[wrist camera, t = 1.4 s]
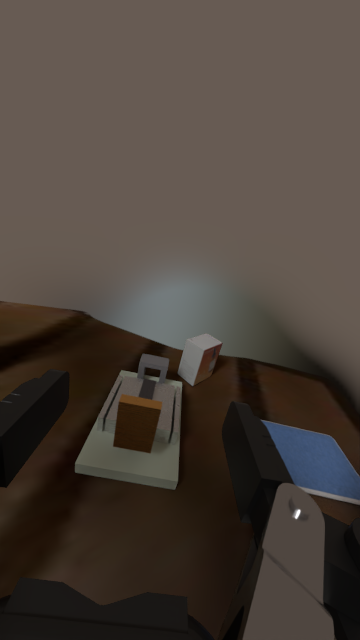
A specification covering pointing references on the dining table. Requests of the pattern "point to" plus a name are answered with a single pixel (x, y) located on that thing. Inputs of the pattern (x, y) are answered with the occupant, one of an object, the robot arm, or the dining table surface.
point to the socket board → (128, 463)
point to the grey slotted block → (161, 393)
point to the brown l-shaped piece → (137, 419)
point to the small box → (199, 358)
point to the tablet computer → (316, 463)
